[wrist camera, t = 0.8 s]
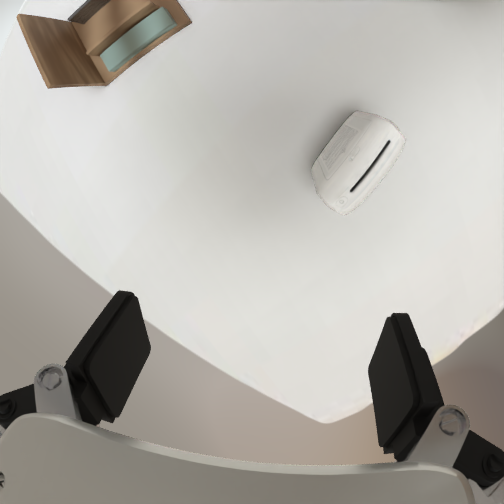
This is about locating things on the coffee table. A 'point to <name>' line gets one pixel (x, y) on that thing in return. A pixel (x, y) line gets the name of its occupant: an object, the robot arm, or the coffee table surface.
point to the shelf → (100, 40)
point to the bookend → (87, 11)
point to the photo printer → (356, 160)
